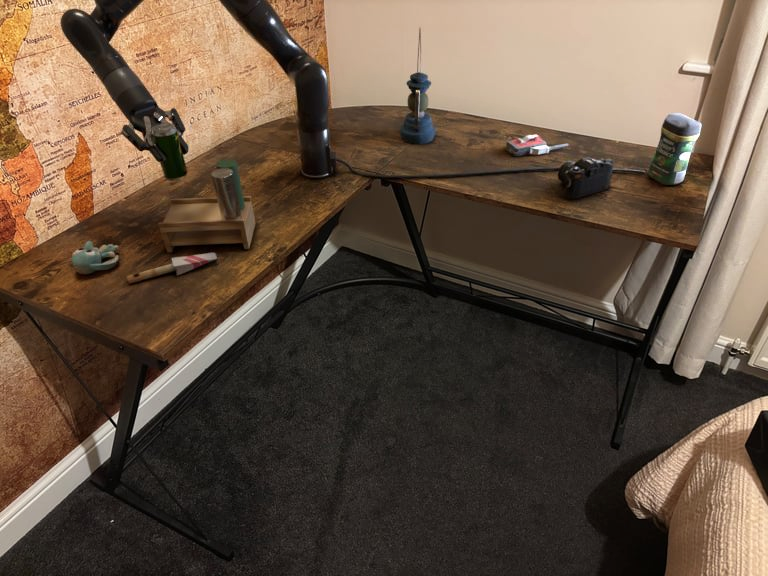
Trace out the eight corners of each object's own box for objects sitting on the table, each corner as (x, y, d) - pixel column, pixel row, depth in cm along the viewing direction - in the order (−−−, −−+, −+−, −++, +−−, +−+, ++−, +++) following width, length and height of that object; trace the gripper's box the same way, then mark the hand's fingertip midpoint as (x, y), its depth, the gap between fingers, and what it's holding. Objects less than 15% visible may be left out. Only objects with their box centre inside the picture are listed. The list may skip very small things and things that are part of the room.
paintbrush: (216, 254, 129) (126, 279, 123) (219, 264, 131) (130, 289, 125) (213, 246, 132) (125, 270, 126) (216, 255, 133) (129, 279, 128)
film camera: (574, 171, 166) (581, 140, 160) (613, 185, 159) (621, 152, 153) (541, 192, 156) (547, 159, 150) (581, 207, 149) (589, 174, 143)
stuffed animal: (130, 234, 132) (90, 253, 122) (134, 262, 135) (96, 282, 125) (95, 227, 135) (53, 244, 125) (100, 253, 138) (60, 272, 128)
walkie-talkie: (515, 160, 173) (569, 150, 178) (517, 147, 170) (571, 136, 175) (501, 149, 179) (553, 139, 185) (502, 136, 177) (555, 127, 182)
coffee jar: (641, 174, 164) (660, 112, 153) (663, 169, 166) (683, 108, 155) (665, 188, 157) (686, 125, 145) (687, 183, 159) (709, 121, 147)
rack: (255, 223, 145) (243, 156, 134) (249, 249, 136) (235, 179, 124) (179, 226, 145) (159, 159, 133) (167, 252, 135) (145, 182, 124)
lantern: (402, 129, 194) (403, 21, 172) (436, 130, 193) (440, 21, 171) (397, 145, 183) (397, 32, 161) (433, 147, 182) (438, 33, 160)
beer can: (168, 183, 127) (154, 134, 120) (161, 174, 131) (147, 126, 123) (191, 177, 129) (178, 128, 122) (184, 169, 133) (171, 120, 125)
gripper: (103, 93, 117) (152, 160, 118) (161, 76, 126) (206, 138, 127) (97, 112, 122) (144, 176, 124) (153, 94, 131) (196, 154, 133)
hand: (175, 156), depth 126 cm, fingers closed on beer can, 5 cm apart
